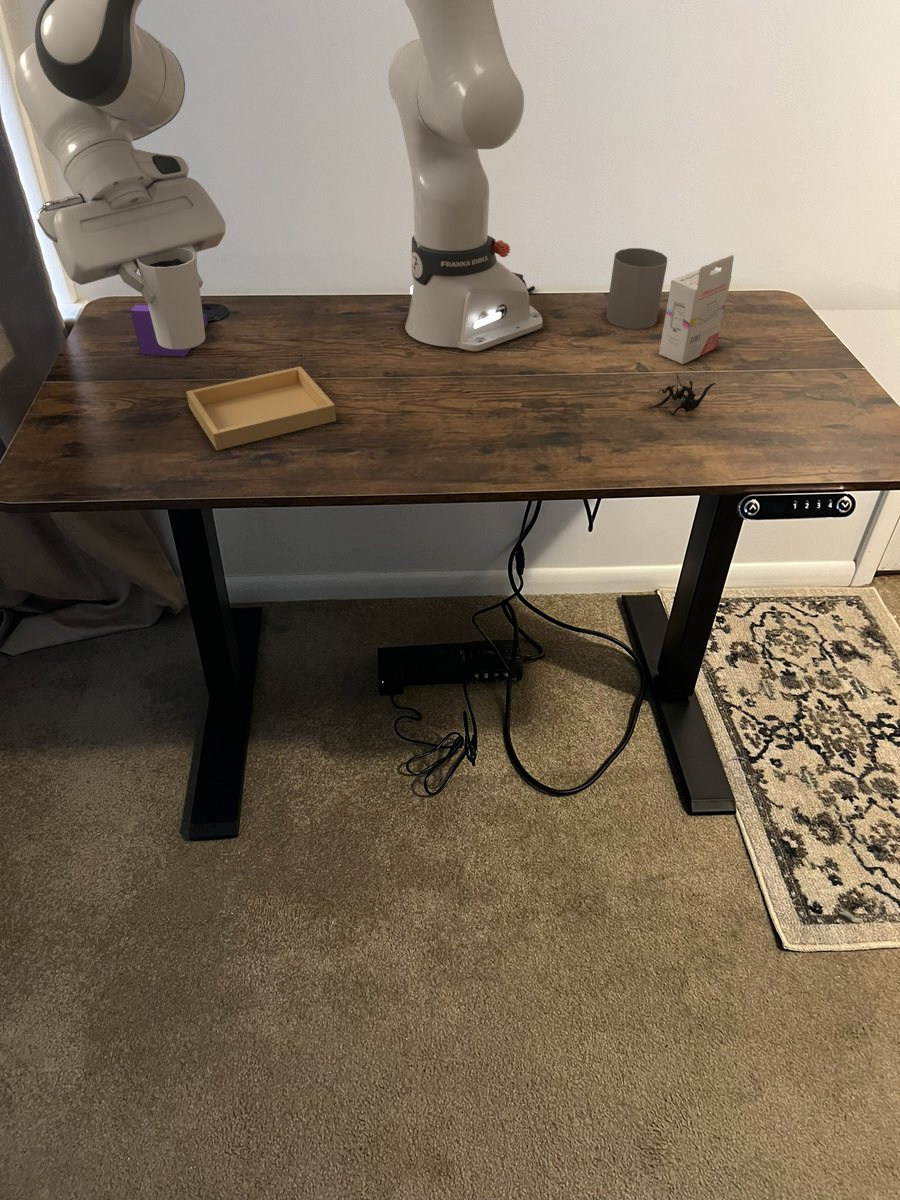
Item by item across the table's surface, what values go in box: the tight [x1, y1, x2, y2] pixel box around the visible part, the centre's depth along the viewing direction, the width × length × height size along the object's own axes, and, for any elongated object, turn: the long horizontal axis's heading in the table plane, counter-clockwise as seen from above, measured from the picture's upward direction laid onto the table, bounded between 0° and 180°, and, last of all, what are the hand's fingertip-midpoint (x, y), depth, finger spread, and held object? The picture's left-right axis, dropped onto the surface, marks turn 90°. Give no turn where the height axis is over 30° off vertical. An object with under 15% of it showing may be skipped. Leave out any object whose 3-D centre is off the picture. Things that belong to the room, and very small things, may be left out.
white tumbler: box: [136, 247, 206, 349], centre depth 103 cm, size 7×7×10 cm
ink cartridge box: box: [658, 254, 735, 365], centre depth 129 cm, size 9×5×15 cm, turn 131°
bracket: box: [130, 304, 209, 357], centre depth 133 cm, size 12×7×7 cm, turn 176°
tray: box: [185, 366, 337, 451], centre depth 117 cm, size 17×13×2 cm
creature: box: [648, 372, 717, 416], centre depth 119 cm, size 8×5×8 cm
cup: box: [605, 247, 668, 330], centre depth 140 cm, size 8×8×10 cm
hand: (176, 293), depth 102 cm, fingers closed on white tumbler, 4 cm apart
